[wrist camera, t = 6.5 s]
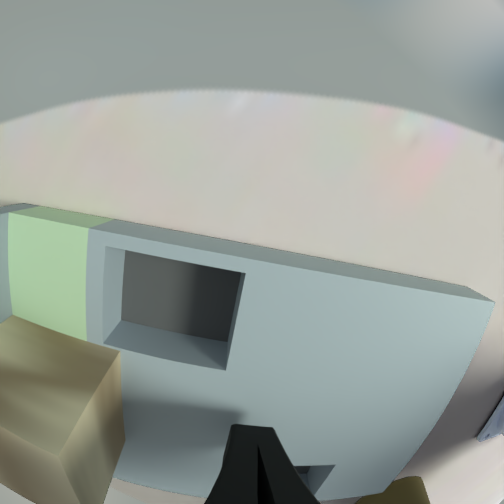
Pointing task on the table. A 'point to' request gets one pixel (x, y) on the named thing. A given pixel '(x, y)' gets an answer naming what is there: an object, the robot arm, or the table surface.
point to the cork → (400, 493)
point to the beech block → (58, 414)
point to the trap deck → (245, 346)
